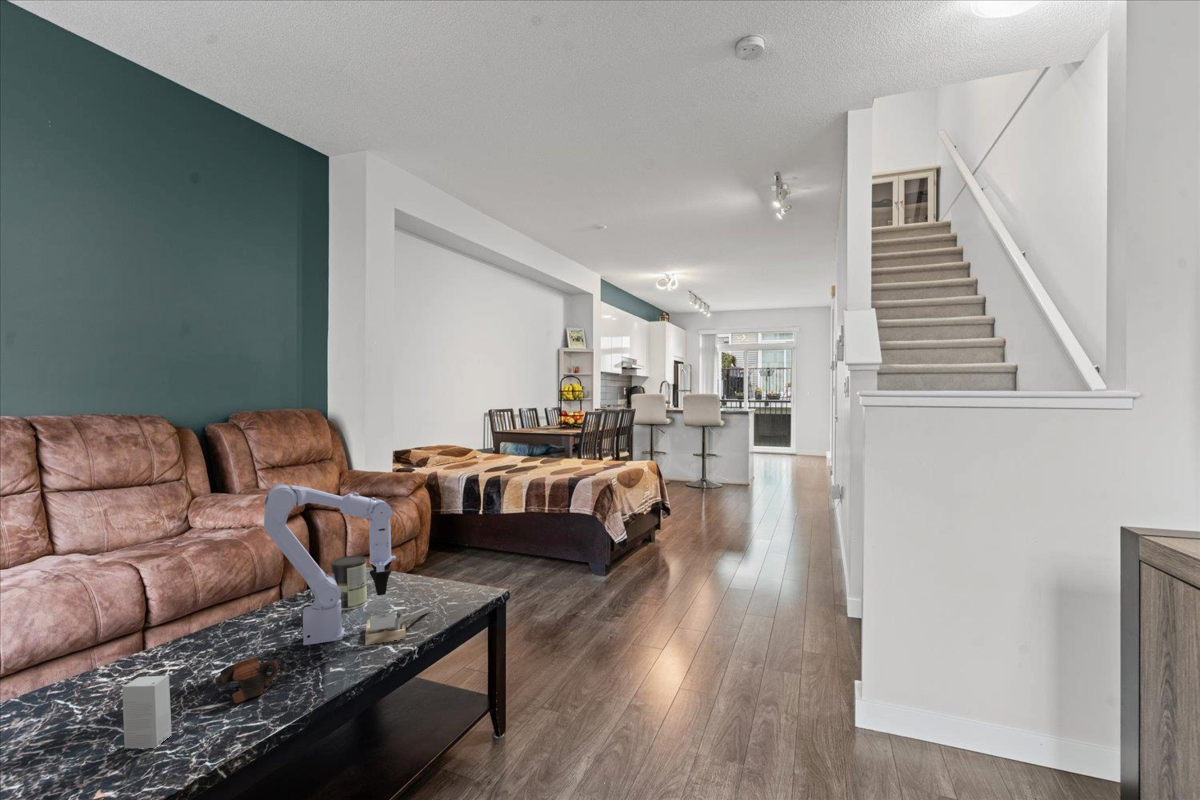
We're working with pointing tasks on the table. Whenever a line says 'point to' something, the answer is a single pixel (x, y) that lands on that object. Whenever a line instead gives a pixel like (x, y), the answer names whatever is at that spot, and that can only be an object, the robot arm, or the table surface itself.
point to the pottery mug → (249, 677)
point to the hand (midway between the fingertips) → (381, 590)
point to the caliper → (409, 617)
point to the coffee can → (351, 580)
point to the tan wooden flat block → (383, 635)
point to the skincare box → (146, 712)
